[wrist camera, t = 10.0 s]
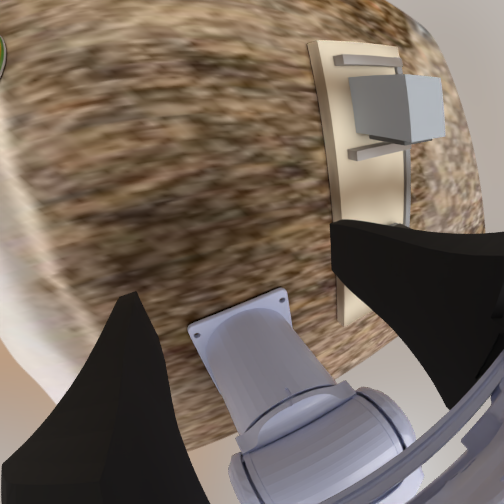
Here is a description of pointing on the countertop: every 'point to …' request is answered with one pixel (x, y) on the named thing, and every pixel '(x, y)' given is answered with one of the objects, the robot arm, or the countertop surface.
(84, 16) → the countertop surface
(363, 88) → the finger part
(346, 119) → the rail
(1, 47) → the supplement bottle
